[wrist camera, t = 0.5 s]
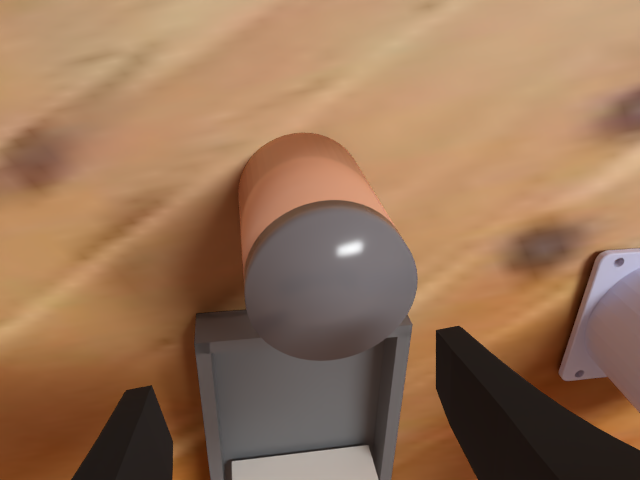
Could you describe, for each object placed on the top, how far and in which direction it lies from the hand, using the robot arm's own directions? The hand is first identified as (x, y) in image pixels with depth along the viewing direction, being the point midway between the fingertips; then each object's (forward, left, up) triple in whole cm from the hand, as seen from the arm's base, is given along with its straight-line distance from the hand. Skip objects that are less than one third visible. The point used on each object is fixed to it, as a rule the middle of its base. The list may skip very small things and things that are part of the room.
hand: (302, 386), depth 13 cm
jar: (-1, -1, -9) cm, 10 cm away
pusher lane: (-1, +15, -9) cm, 18 cm away
